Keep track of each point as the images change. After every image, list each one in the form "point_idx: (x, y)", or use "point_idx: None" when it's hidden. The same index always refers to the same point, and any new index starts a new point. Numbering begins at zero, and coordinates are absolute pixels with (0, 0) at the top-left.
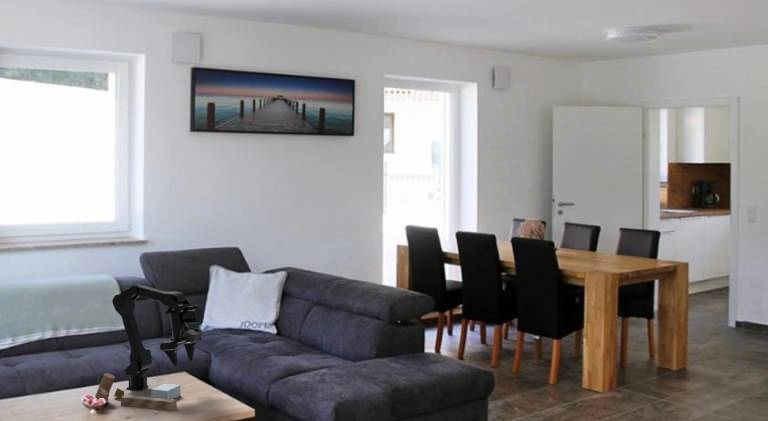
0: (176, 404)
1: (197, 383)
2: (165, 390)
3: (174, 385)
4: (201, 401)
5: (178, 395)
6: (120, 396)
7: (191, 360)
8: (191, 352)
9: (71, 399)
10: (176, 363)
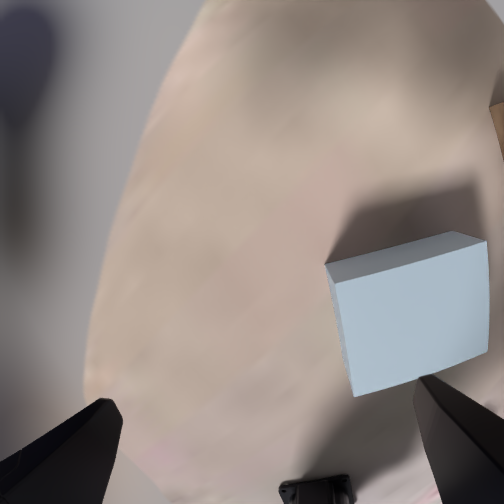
0: (499, 103)
1: (97, 358)
2: (483, 260)
3: (365, 312)
4: (339, 62)
5: (348, 259)
6: None
7: (110, 401)
8: (54, 469)
9: None
10: (448, 388)
